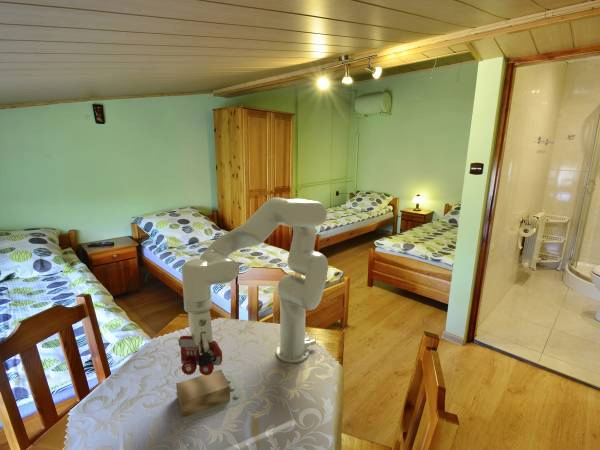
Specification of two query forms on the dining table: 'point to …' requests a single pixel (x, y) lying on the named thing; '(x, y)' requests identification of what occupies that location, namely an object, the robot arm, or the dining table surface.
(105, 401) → the dining table surface
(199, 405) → the base brick
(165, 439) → the dining table surface
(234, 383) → the build plate
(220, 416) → the dining table surface
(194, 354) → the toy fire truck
